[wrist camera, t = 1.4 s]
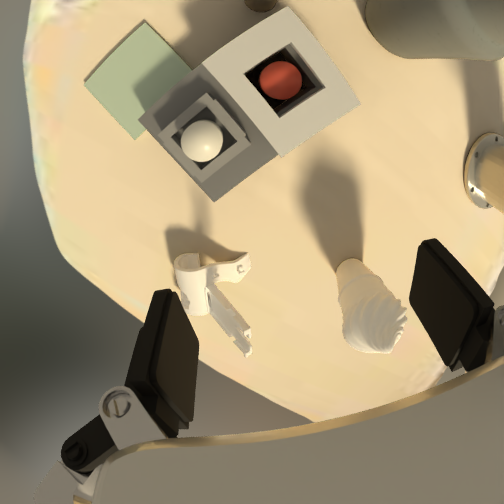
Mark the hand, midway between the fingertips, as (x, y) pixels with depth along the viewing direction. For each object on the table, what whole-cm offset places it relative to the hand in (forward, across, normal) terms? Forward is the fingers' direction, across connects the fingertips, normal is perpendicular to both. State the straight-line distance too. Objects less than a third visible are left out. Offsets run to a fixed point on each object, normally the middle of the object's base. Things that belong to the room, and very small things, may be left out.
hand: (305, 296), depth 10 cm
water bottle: (+25, -20, -15) cm, 35 cm away
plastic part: (+25, +9, +16) cm, 31 cm away
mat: (+25, +11, -11) cm, 29 cm away
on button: (+19, +5, -3) cm, 20 cm away
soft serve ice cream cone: (+25, -10, +19) cm, 33 cm away
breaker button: (+23, -3, -7) cm, 24 cm away
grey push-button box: (+25, 0, -6) cm, 25 cm away
